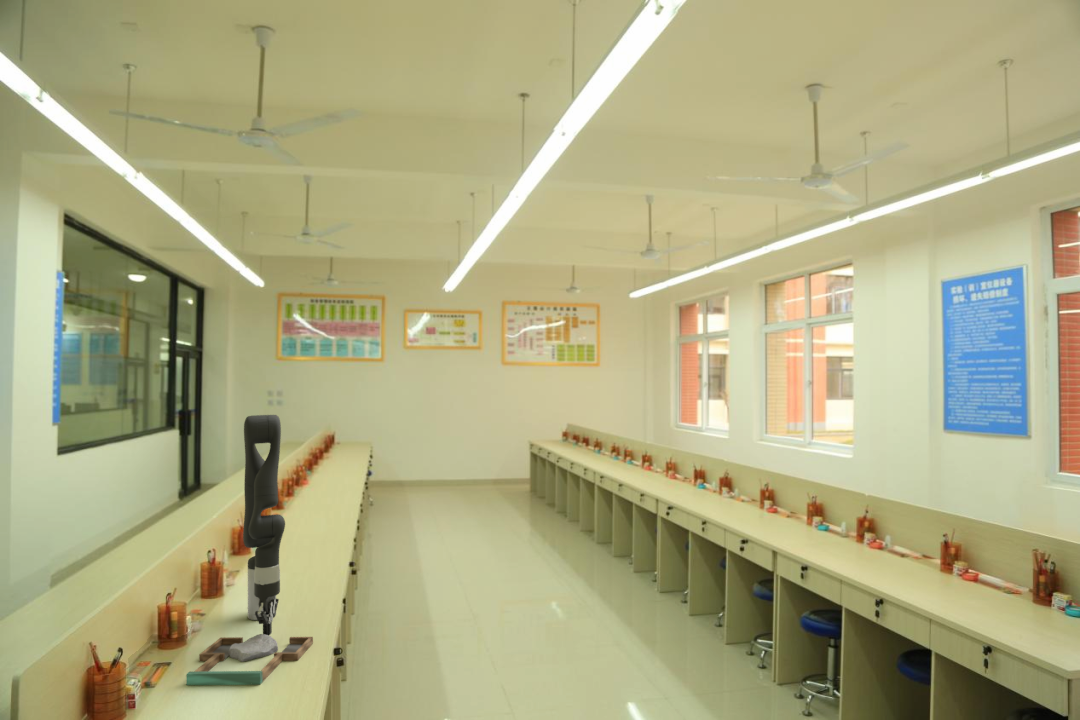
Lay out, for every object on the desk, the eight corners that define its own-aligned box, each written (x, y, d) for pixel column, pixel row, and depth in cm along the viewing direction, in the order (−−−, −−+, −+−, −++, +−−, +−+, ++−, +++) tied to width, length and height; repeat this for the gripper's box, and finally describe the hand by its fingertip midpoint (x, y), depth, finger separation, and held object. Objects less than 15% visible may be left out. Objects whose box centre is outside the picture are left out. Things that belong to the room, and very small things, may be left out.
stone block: (281, 657, 206) (263, 643, 212) (282, 642, 205) (264, 629, 211) (244, 672, 196) (226, 657, 202) (245, 657, 196) (227, 642, 202)
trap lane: (220, 643, 211) (220, 634, 211) (312, 643, 211) (312, 633, 211) (169, 685, 183) (169, 674, 183) (276, 684, 183) (276, 673, 183)
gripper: (263, 573, 218) (263, 627, 218) (246, 586, 205) (246, 643, 205) (287, 572, 218) (287, 626, 218) (270, 585, 205) (270, 643, 205)
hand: (267, 634), depth 212 cm, fingers closed
